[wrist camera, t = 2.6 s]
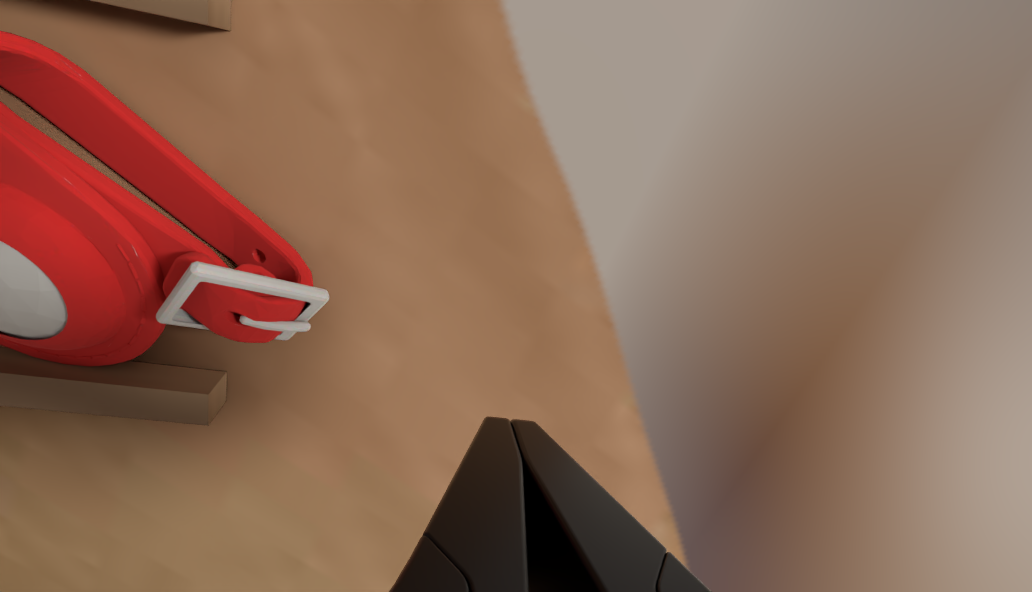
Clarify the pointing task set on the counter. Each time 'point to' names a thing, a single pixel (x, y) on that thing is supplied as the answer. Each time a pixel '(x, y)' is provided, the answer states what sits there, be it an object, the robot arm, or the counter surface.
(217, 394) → the guide channel
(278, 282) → the tracker holder
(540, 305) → the counter surface
